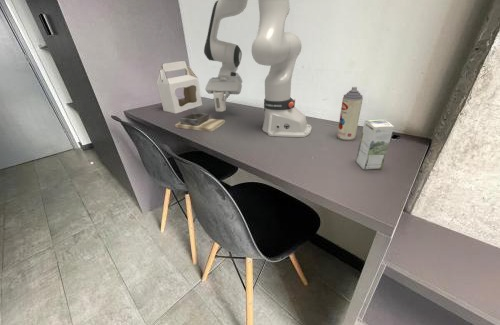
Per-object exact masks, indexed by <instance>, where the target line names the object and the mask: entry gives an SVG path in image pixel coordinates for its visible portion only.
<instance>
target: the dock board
mask: <svg viewBox="0 0 500 325" xmlns="http://www.w3.org/2000/svg"><path fill="white" fill-rule="evenodd" d="M209 115H210V114H209V113H199V112H191V113H188V114H187V115H185V116H182V117H180V118H179V122H177V123H176V124H174V127H175V128H178V129H185V130H193V131H194V130H195V131H203V132H210V133H211V132H213V131H215V130H217V129H218V128H219V127H221V126H223V125H224V124H225V123H226V120H225V119H218V118H217V119H215V118H210V116H209Z"/></svg>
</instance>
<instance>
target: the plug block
mask: <svg viewBox="0 0 500 325" xmlns="http://www.w3.org/2000/svg"><path fill="white" fill-rule="evenodd" d="M224 96H225V94H224V92H217V93H214V95H213V98H214V100H213V102H214V107H215V112H224V111H226V110H227V108H226V101H223V100H222V97H224Z"/></svg>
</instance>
